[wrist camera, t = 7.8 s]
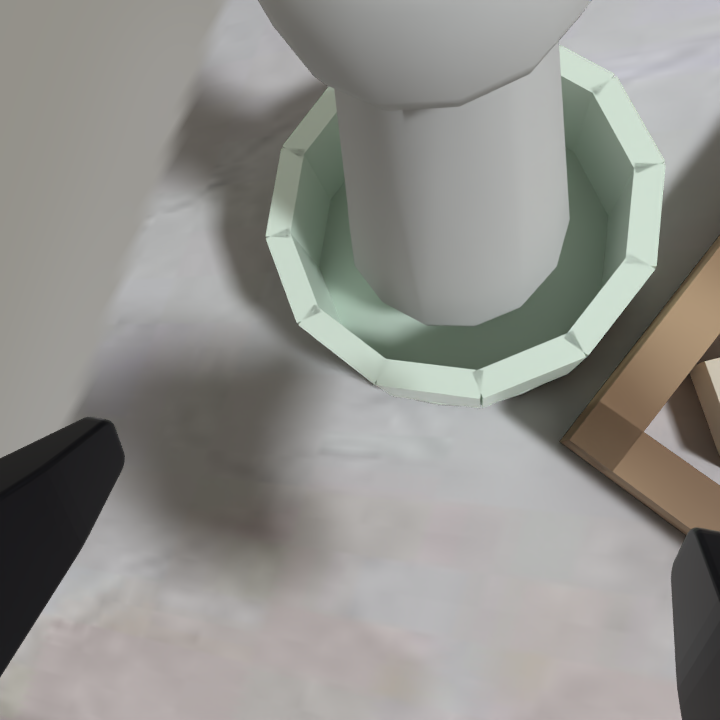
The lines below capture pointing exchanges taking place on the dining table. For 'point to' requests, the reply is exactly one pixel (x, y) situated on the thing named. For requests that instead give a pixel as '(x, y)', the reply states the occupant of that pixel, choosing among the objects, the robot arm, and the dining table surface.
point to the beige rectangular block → (709, 394)
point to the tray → (656, 406)
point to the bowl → (509, 331)
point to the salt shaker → (445, 143)
